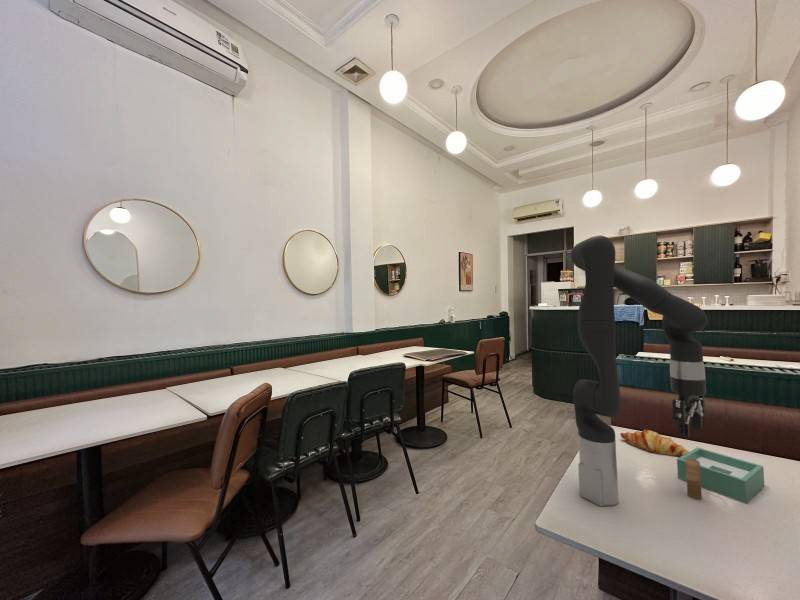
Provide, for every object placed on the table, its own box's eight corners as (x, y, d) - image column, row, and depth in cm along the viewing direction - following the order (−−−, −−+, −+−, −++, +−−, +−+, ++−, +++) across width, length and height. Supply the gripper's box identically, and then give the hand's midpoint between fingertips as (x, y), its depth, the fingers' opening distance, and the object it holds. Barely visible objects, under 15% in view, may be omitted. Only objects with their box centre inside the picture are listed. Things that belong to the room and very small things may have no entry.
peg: (699, 501, 88) (697, 464, 88) (685, 495, 91) (683, 460, 91) (703, 497, 90) (701, 461, 90) (690, 492, 92) (688, 457, 92)
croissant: (692, 466, 113) (694, 443, 115) (687, 461, 107) (689, 437, 110) (622, 445, 129) (625, 426, 132) (615, 440, 124) (617, 420, 126)
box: (746, 503, 86) (745, 481, 86) (678, 478, 99) (676, 459, 100) (764, 486, 93) (763, 466, 94) (698, 465, 107) (697, 447, 107)
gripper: (693, 382, 84) (697, 443, 84) (714, 374, 91) (718, 431, 91) (659, 377, 91) (663, 434, 91) (681, 370, 98) (685, 423, 97)
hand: (690, 432), depth 91 cm, fingers open, 8 cm apart
